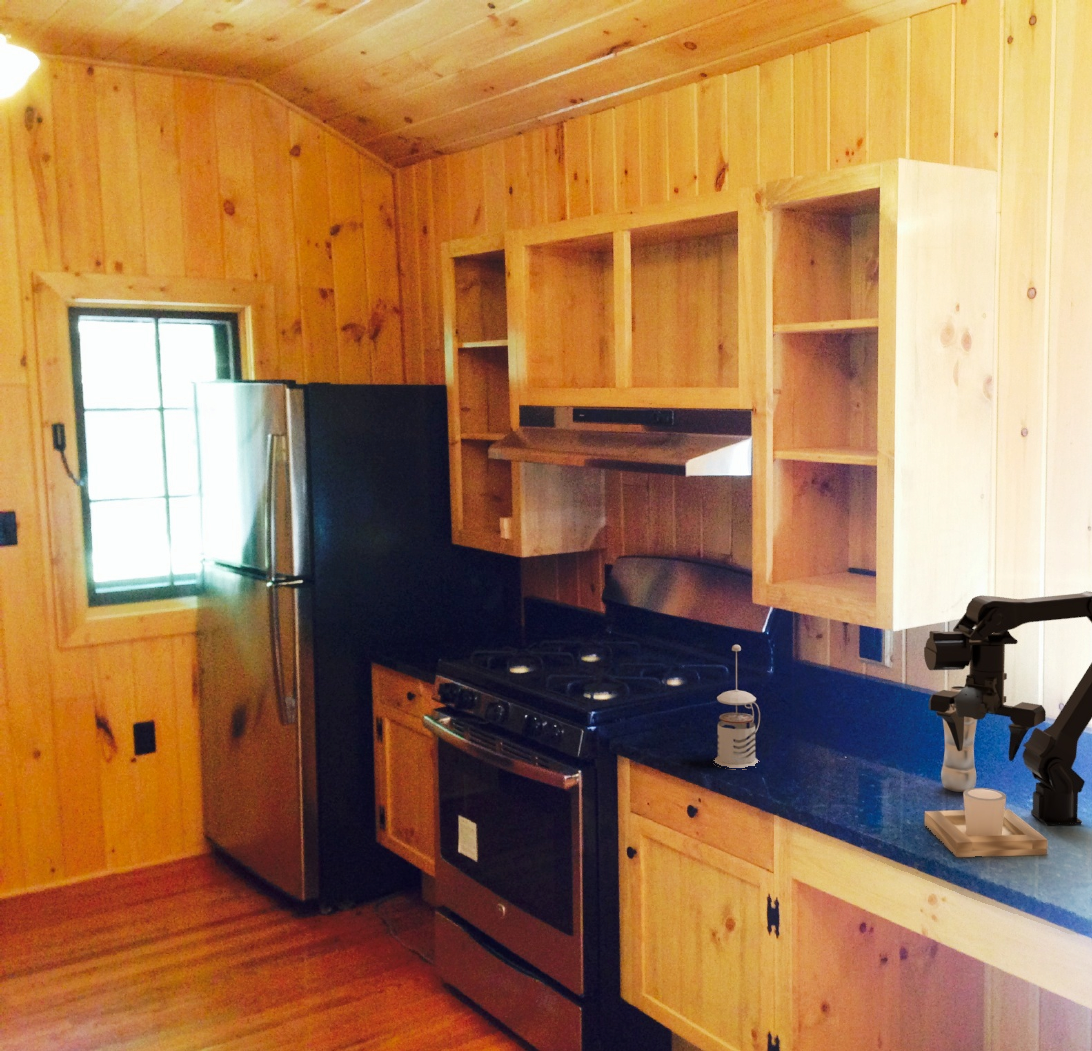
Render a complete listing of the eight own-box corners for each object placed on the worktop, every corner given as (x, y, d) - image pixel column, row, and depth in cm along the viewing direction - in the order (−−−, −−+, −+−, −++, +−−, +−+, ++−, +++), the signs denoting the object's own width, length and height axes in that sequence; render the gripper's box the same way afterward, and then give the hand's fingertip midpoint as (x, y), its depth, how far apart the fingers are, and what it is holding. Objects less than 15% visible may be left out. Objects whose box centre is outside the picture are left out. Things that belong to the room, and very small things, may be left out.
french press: (703, 762, 246) (702, 644, 244) (738, 751, 254) (738, 637, 252) (740, 772, 239) (739, 651, 237) (775, 760, 247) (775, 643, 244)
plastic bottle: (940, 794, 224) (941, 691, 222) (941, 783, 230) (942, 682, 228) (976, 797, 222) (978, 693, 220) (976, 786, 228) (978, 685, 226)
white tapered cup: (970, 823, 205) (971, 784, 204) (1011, 831, 201) (1012, 792, 200) (956, 835, 200) (957, 794, 199) (997, 843, 196) (998, 802, 195)
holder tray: (1008, 822, 208) (1008, 808, 208) (1047, 854, 193) (1047, 839, 193) (924, 824, 208) (924, 811, 207) (956, 857, 193) (957, 842, 192)
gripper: (915, 669, 207) (914, 756, 208) (1022, 684, 194) (1020, 777, 196) (943, 658, 215) (941, 742, 216) (1047, 673, 202) (1045, 761, 204)
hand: (985, 755), depth 208 cm, fingers open, 9 cm apart
